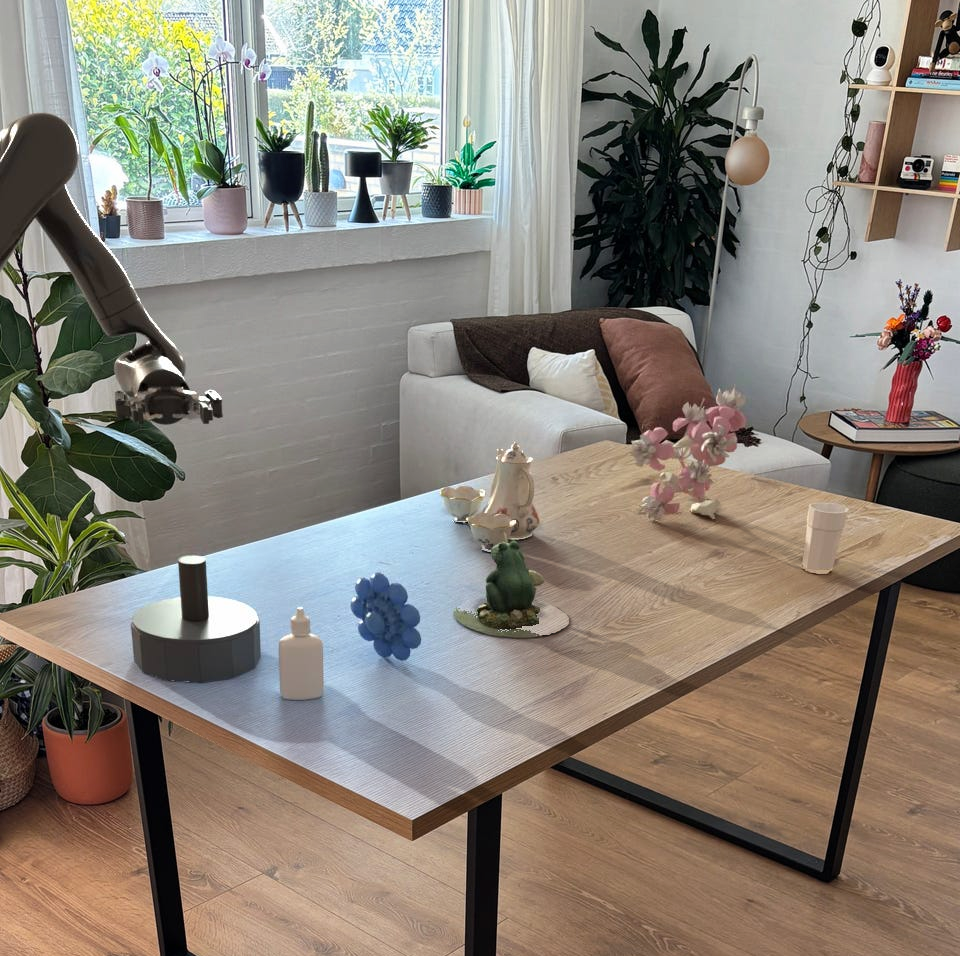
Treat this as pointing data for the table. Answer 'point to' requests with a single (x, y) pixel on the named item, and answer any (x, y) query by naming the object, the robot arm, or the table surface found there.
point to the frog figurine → (506, 596)
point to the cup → (823, 534)
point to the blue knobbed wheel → (386, 616)
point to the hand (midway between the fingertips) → (173, 416)
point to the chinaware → (498, 502)
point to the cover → (195, 632)
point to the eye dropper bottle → (301, 661)
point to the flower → (696, 443)
